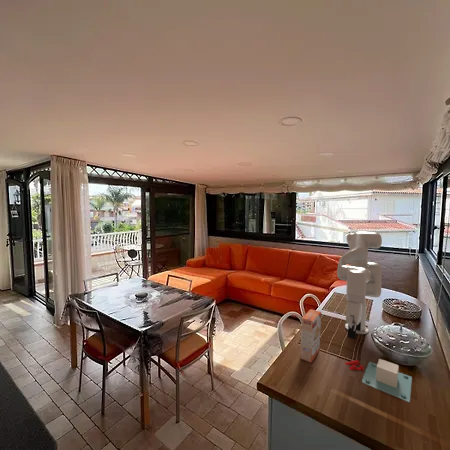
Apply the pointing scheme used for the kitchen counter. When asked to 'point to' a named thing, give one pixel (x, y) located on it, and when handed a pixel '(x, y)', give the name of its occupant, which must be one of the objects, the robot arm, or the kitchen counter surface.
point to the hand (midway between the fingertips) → (354, 333)
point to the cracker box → (310, 335)
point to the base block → (387, 373)
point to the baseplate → (402, 385)
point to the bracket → (354, 365)
